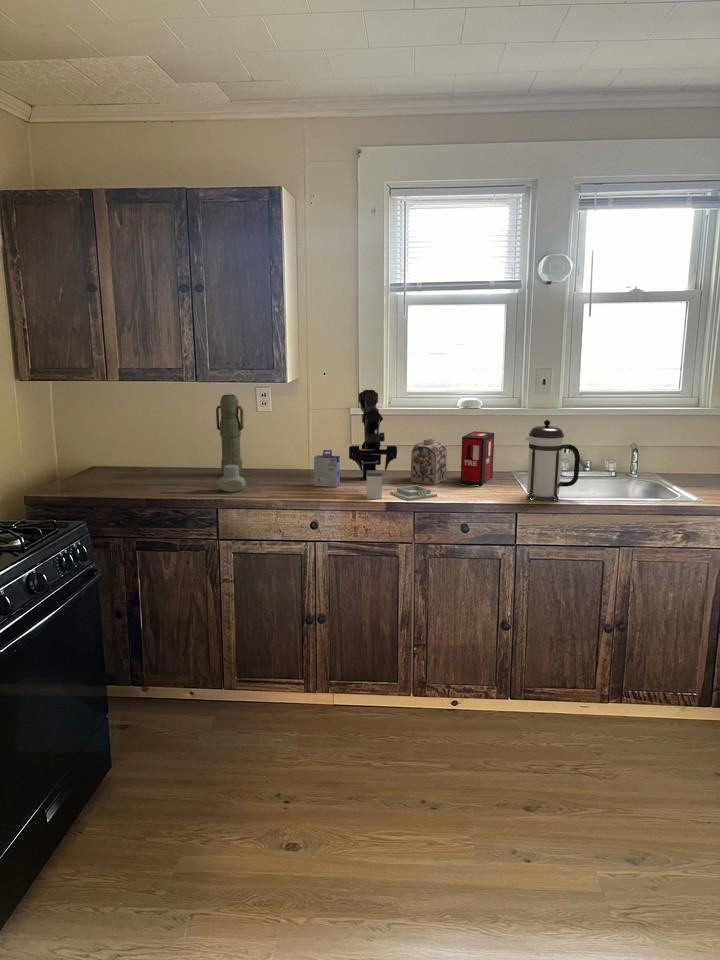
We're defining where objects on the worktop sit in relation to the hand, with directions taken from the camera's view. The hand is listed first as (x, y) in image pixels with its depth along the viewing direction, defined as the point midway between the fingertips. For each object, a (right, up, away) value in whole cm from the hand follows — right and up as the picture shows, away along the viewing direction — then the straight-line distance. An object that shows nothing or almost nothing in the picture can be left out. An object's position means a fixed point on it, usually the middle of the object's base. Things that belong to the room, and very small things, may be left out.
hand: (373, 470), depth 270 cm
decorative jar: (+24, -4, +27) cm, 36 cm away
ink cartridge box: (-19, -6, +19) cm, 27 cm away
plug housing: (0, -10, -1) cm, 10 cm away
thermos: (-61, -2, +38) cm, 72 cm away
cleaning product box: (+44, -5, +26) cm, 51 cm away
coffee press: (+66, -11, -1) cm, 67 cm away
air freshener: (-56, -8, +10) cm, 58 cm away
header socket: (+16, -10, +3) cm, 18 cm away
